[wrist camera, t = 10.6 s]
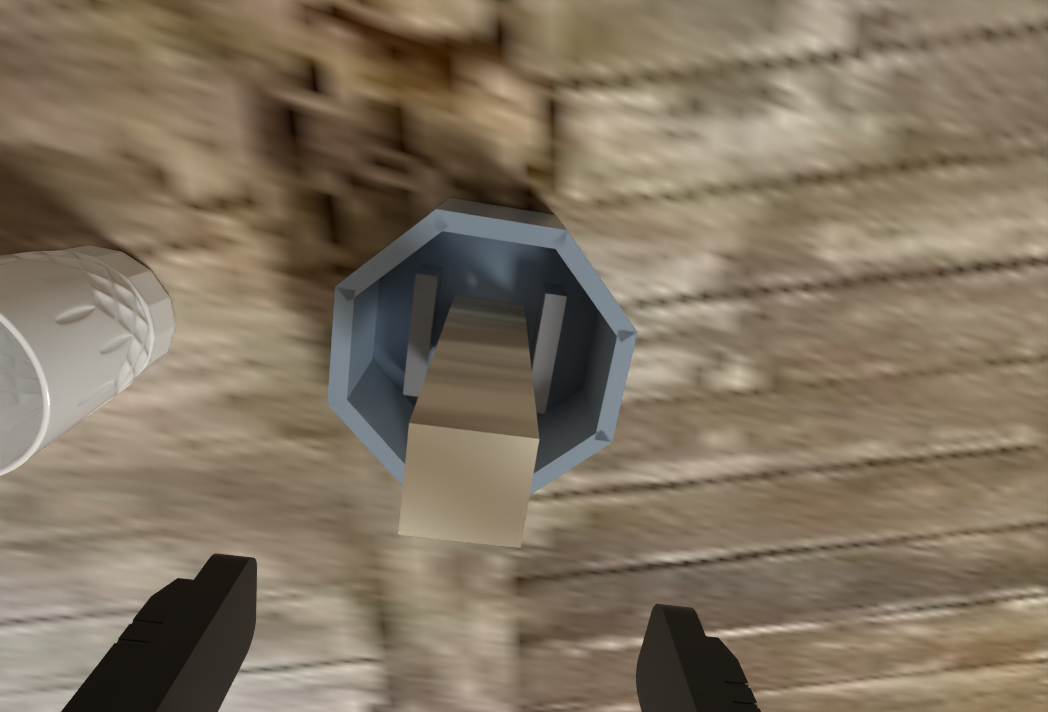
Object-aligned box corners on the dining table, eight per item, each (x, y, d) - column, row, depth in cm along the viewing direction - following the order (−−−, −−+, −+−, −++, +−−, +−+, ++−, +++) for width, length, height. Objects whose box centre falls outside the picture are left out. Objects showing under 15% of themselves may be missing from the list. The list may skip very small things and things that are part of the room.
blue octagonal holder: (373, 185, 29) (340, 193, 23) (628, 226, 30) (657, 244, 24) (354, 421, 33) (323, 478, 27) (580, 451, 34) (595, 512, 28)
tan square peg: (454, 294, 30) (408, 423, 16) (524, 304, 30) (539, 439, 16) (447, 360, 31) (398, 534, 17) (514, 368, 32) (520, 547, 17)
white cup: (166, 406, 32) (25, 511, 23) (13, 348, 31) (-203, 434, 22) (206, 274, 30) (69, 330, 21) (44, 205, 29) (-182, 232, 19)
